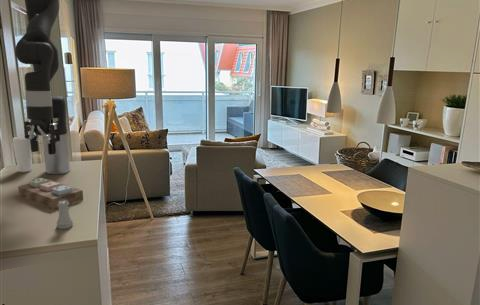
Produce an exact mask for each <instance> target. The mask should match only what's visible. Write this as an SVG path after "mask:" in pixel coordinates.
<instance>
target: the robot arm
mask: <svg viewBox="0 0 480 305" xmlns="http://www.w3.org/2000/svg"><path fill="white" fill-rule="evenodd" d="M24 4H25V9H26V17H27V21H28V22H27V23H28V24H27V25H26V26H27V27H26V30H25V33H24V35H23V36H22V37H21V38H20V39H19V40H18V42H17V43H16V46H15V48H14V52H15V53H14V54H15V58H16V59H17V61H18V62H20V63H21V64H24V65H32V67H33V68H32V69H33V71H28V72H26V73H25V74H24V85H25V105H26V106H25V107H26V118H27V120H26V121H23V126H24V127H23V128H24V129H23V130H24V132H23V133H24V136H25V138H26V139H28V140H29V141H30V145H31V151H32V153H36V152H39V150H40V149H39V140H38V138H39V136H41V137H42V138H43V143H44V145H43V146H44V150H43V153H44V154H43V155H44V164H45V172H46V173H47V174H49V175H61V174H66V173H69V172H70V171H71V166H70V156H69V155H70V153H69V152H70V151H69V139H68V129H67V128H68V127H67V105H66V99H65V98H64V96H52V92H51V83H50V82H51V81H52V79H53V78H54V76H55V75H56V73H57V72H58V70H59V68H60V67H59V66H60V62H59V52H58V48H57V46H56V45H55V44H54V42H53V40H52V39H51V31H52V28H53V26H54V25H55V22H56V20H57V17H58V14H59V11H60V0H24ZM52 119H57V120H56V121H55V122H53V123H52V122H51V120H52Z"/></svg>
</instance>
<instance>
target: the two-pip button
mask: <svg viewBox="0 0 480 305" xmlns="http://www.w3.org/2000/svg"><path fill="white" fill-rule="evenodd" d="M65 185H66V184H65ZM65 185H63V186H59V187H55V188H52V193H53V194H55V195H58V196H61V195H65V194H68V193H71V192H72V188H71V187H72V186H71V187H68V186H69V185H68V186H65Z"/></svg>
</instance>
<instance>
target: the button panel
mask: <svg viewBox="0 0 480 305" xmlns="http://www.w3.org/2000/svg"><path fill="white" fill-rule="evenodd" d="M46 180H48V182H56V183H59V185H60V186H63V185H65V186H68V187H71V188H72V192H71V193H68V194H65V195H61V196H58V195H55V194H53V193H52V191H48V192H47V191H44V190H41V188H40V187H37V188H36V187H33V186H30V185H29V183H26V184H23V185H18V186H17V188H18V190H17V191H18V196H19V197H21V198H24V199H27V200H29V201H32V202H35V203H37V204H40V205H43V206H45V207H48V208H50V209H52V210H55V209H59V207H58V206H57V204H58V201H60V200H62V201H63V200H65V201H66V200H67V201H68V202H69V205H70V204H73V203H76V202H79V201H82V200H84V192H83V189H81V188H80V189H79V188H77V187H73V186H70V185H68V184H64V183H61V182H58V181H56V180H53V179H49V178H46Z"/></svg>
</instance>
